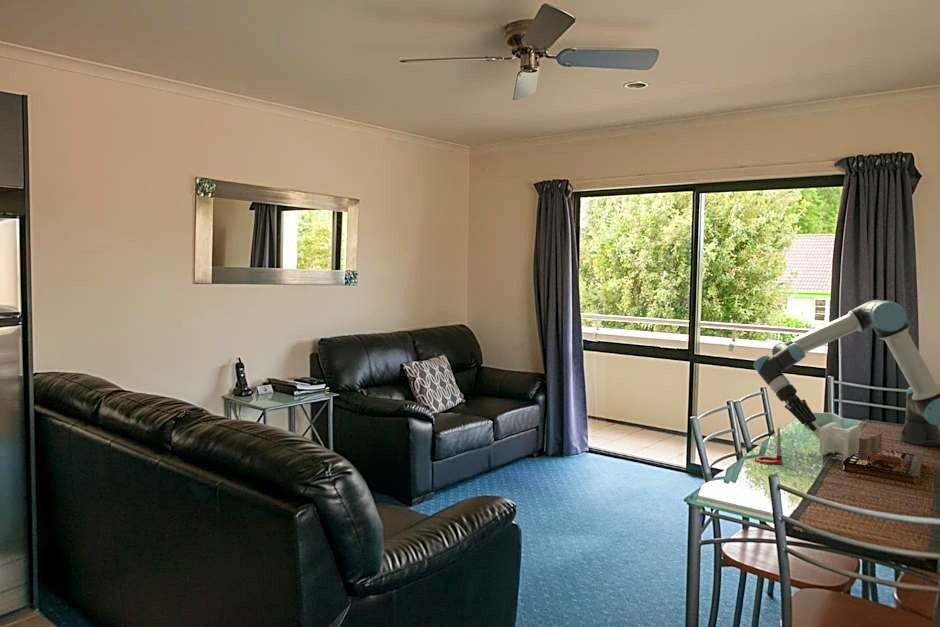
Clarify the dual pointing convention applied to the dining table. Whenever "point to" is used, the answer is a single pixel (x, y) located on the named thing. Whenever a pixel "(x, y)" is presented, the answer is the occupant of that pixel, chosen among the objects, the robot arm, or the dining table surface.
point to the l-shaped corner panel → (827, 419)
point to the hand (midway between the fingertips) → (822, 436)
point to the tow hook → (778, 457)
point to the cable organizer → (839, 439)
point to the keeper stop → (869, 445)
